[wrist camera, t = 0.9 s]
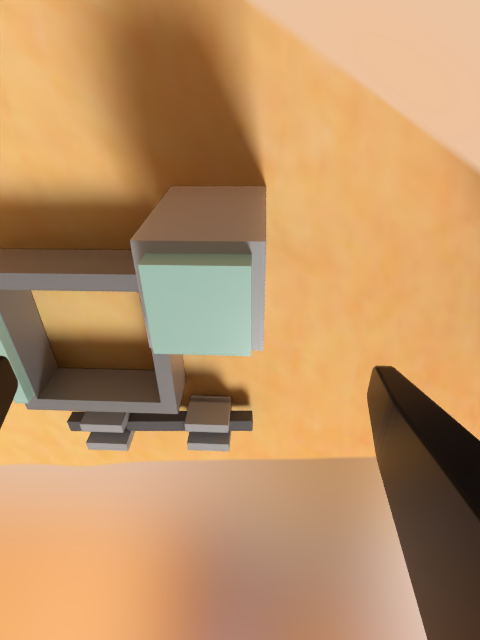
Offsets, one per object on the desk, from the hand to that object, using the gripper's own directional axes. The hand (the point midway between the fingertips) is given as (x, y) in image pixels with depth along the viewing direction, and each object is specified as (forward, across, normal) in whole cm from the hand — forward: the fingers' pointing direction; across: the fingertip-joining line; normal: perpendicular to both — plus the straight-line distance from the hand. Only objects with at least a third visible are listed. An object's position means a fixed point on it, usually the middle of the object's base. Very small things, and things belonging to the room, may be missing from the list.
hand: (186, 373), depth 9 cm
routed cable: (+9, +4, +11) cm, 15 cm away
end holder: (+9, +7, +5) cm, 13 cm away
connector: (+10, 0, 0) cm, 10 cm away
